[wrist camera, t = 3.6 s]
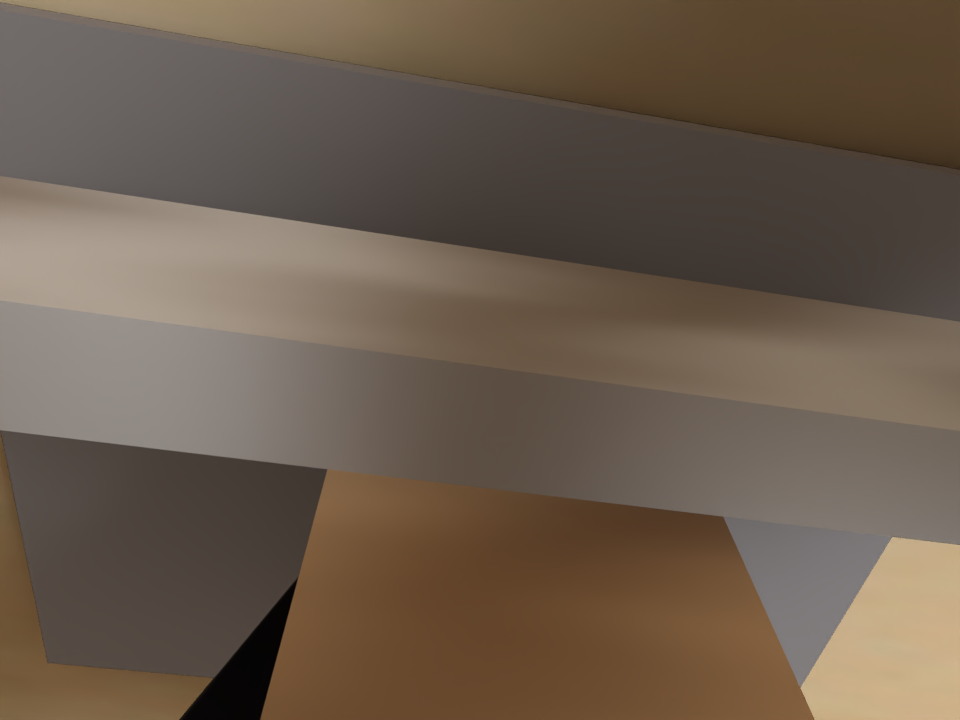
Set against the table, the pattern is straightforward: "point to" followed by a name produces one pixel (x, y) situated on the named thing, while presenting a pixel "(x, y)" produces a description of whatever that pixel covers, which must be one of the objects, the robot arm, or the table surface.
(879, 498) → the wood and metal bracket
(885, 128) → the table surface
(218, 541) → the rubber mat
